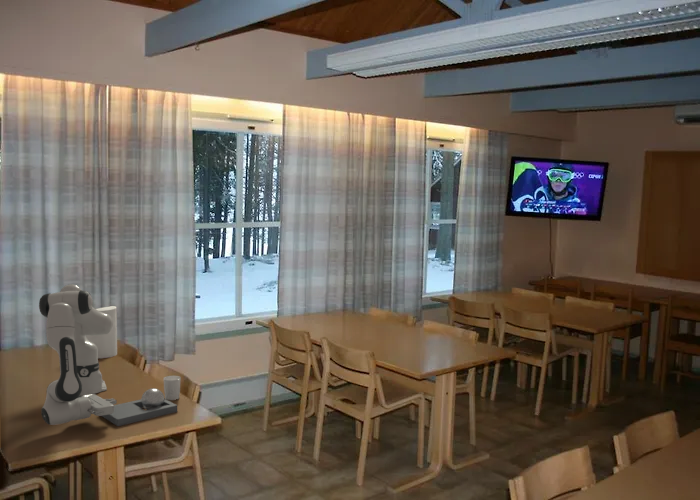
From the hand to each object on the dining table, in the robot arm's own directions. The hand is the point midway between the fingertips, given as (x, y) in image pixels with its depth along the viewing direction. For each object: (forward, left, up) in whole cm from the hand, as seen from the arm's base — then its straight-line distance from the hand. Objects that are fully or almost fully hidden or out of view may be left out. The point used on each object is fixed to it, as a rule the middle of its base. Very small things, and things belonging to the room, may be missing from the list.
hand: (115, 401), depth 292 cm
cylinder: (-114, -19, -8) cm, 115 cm away
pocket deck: (-6, +9, -8) cm, 14 cm away
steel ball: (-9, +15, -3) cm, 18 cm away
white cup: (-25, +23, -8) cm, 35 cm away
